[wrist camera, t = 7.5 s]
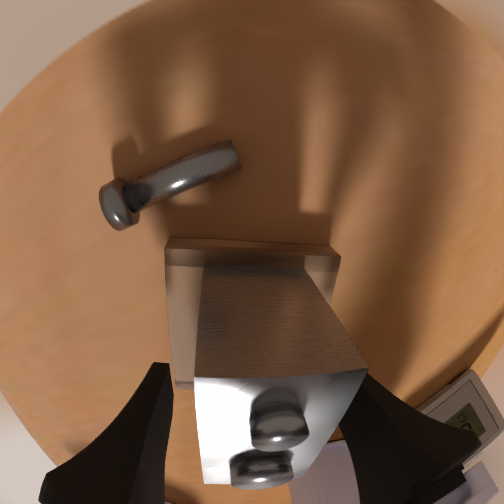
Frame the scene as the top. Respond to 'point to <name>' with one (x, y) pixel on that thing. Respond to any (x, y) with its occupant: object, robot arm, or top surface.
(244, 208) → the top surface
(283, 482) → the housing
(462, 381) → the digital clock
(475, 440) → the robot arm
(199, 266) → the stand
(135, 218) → the loose bolt
